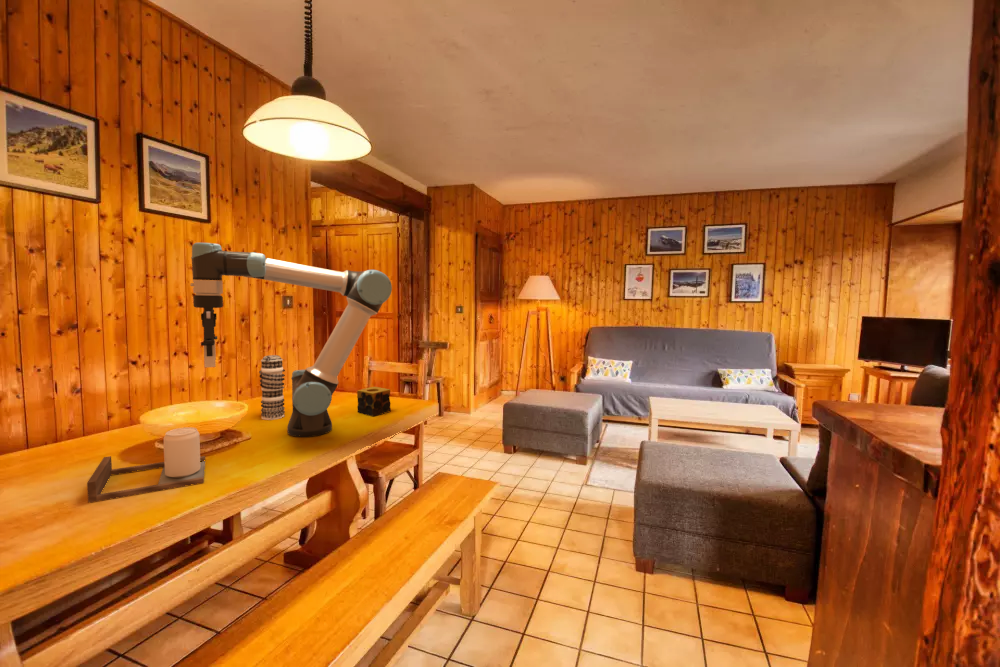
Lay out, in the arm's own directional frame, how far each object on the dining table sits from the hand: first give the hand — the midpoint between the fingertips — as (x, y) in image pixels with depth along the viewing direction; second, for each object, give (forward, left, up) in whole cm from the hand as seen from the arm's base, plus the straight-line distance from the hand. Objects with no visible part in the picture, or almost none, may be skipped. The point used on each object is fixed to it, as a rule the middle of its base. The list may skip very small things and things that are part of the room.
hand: (210, 363), depth 136 cm
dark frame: (+14, +14, -29) cm, 35 cm away
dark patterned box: (-58, -24, -29) cm, 69 cm away
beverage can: (+7, +14, -29) cm, 33 cm away
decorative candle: (-20, -35, -29) cm, 50 cm away
